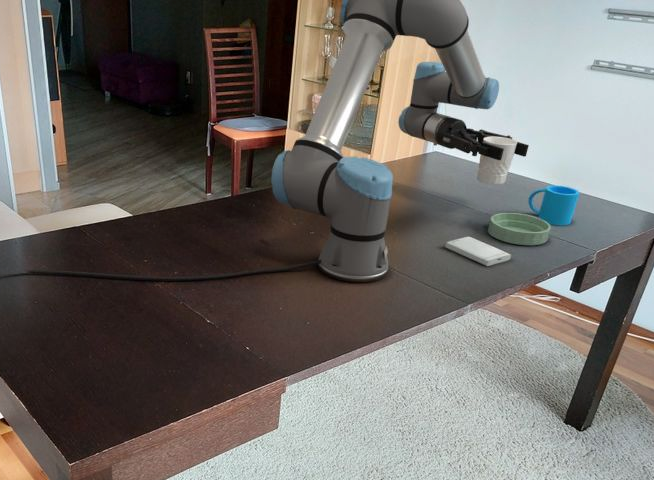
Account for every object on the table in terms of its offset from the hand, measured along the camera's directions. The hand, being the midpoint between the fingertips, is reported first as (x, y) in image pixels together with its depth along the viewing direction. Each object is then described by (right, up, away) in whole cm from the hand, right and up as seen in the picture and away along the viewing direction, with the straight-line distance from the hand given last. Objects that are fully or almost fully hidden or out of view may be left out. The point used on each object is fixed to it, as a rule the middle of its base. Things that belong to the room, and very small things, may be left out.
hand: (513, 152), depth 163 cm
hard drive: (-10, -25, -3) cm, 27 cm away
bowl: (+4, -19, +8) cm, 21 cm away
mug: (+18, -12, +20) cm, 29 cm away
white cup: (-2, -5, +8) cm, 10 cm away
